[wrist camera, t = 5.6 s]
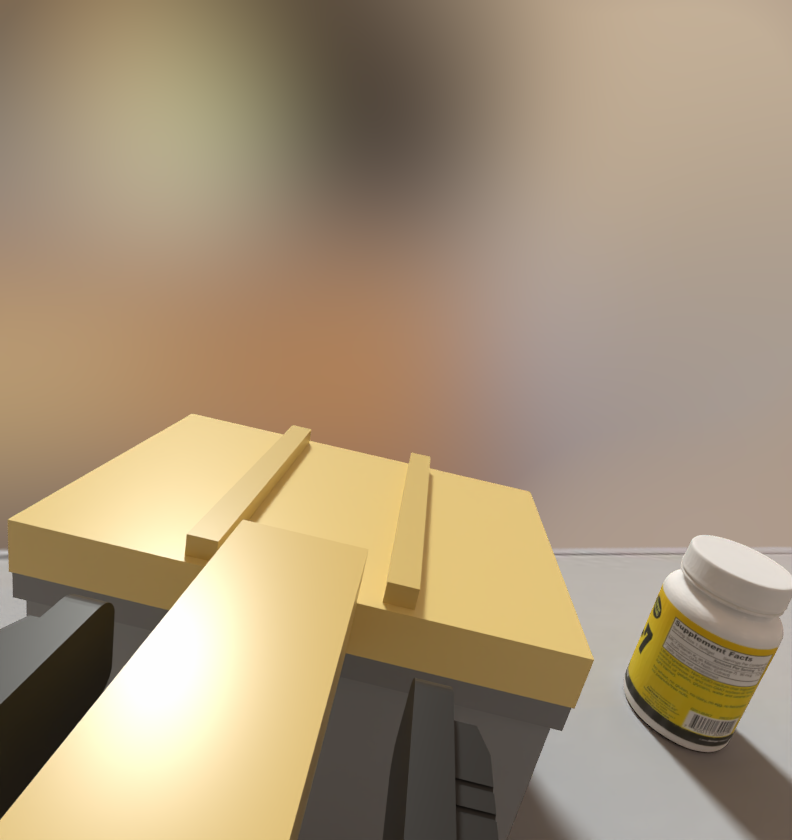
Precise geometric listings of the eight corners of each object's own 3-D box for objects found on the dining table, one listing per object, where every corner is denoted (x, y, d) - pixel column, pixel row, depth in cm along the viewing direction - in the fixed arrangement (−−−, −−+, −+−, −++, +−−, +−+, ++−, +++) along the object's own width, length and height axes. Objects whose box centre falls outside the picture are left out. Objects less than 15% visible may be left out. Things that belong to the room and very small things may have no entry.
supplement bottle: (642, 657, 28) (702, 521, 25) (739, 722, 24) (818, 574, 22) (603, 696, 24) (667, 543, 22) (709, 777, 21) (798, 610, 19)
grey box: (17, 796, 15) (12, 570, 13) (175, 601, 24) (189, 447, 22) (487, 916, 15) (571, 706, 13) (471, 673, 24) (519, 523, 22)
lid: (-676, 1046, 5) (-831, 835, 4) (189, 446, 22) (195, 379, 21) (794, 1460, 5) (974, 1324, 4) (519, 523, 22) (540, 458, 21)
